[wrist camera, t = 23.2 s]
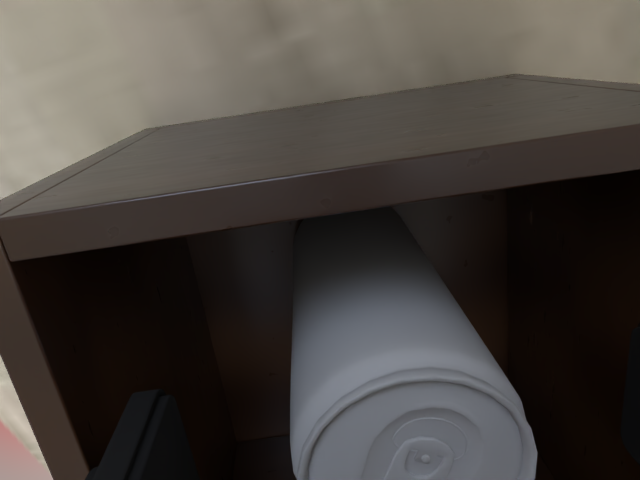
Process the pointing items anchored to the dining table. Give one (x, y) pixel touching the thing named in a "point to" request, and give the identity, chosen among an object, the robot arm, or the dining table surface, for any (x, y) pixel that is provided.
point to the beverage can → (392, 365)
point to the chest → (277, 263)
